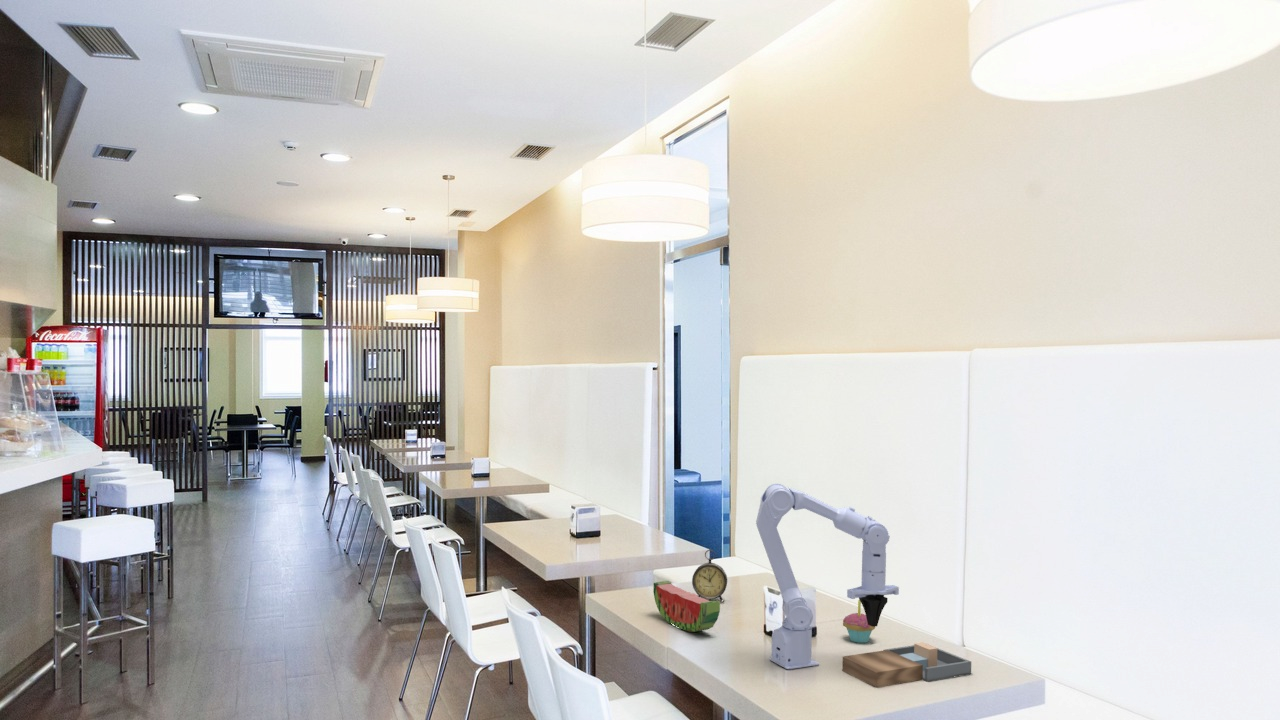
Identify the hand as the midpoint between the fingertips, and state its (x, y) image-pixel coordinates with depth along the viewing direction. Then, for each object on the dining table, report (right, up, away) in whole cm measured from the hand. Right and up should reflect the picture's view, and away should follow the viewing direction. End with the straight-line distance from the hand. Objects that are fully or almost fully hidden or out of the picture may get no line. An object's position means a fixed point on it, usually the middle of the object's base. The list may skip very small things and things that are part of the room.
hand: (872, 625), depth 205 cm
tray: (+13, -10, -1) cm, 16 cm away
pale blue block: (+9, -9, -3) cm, 13 cm away
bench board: (0, -10, -7) cm, 12 cm away
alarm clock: (-36, -11, +58) cm, 69 cm away
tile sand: (+11, -7, -2) cm, 14 cm away
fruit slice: (-45, -10, +29) cm, 54 cm away
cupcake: (+2, -11, +20) cm, 23 cm away
